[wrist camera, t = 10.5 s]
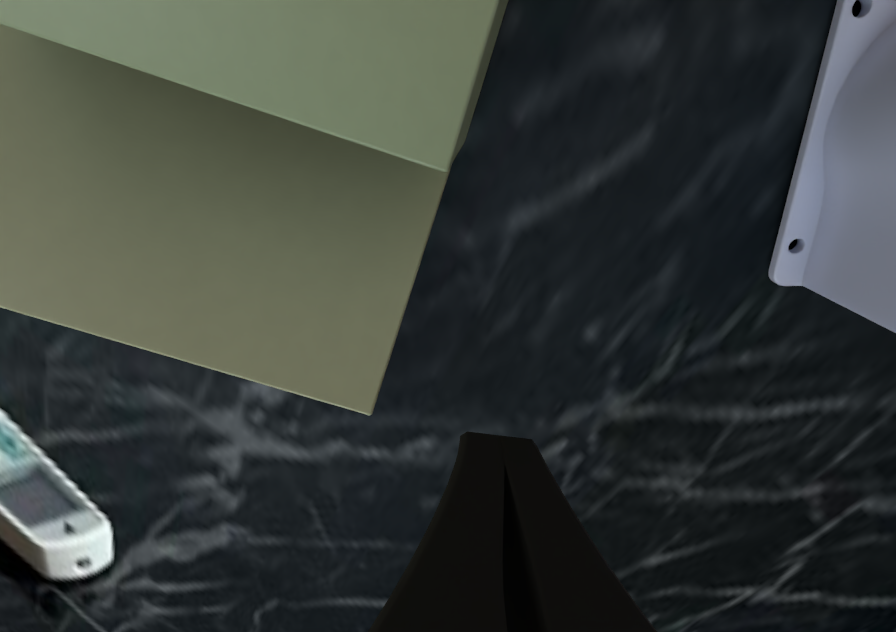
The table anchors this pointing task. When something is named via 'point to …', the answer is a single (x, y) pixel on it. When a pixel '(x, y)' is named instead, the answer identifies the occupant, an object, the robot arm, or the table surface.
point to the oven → (302, 59)
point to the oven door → (203, 225)
